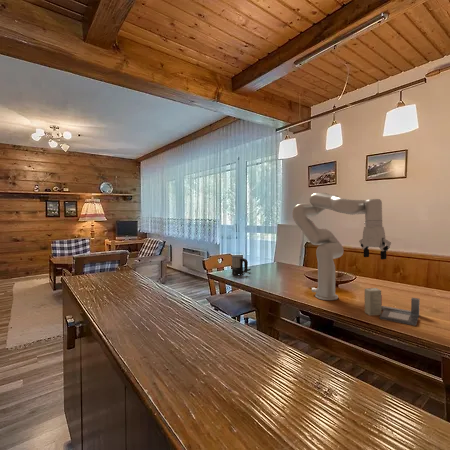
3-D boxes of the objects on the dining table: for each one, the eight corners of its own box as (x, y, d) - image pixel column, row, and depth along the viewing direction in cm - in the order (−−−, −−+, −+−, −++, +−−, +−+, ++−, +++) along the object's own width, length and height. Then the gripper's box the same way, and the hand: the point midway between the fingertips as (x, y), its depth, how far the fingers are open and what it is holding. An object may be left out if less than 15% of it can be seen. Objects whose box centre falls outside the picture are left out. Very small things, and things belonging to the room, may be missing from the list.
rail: (369, 307, 146) (369, 292, 146) (370, 306, 148) (371, 291, 148) (418, 317, 133) (419, 300, 132) (419, 315, 135) (419, 298, 135)
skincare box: (376, 312, 140) (376, 287, 140) (381, 315, 136) (381, 290, 135) (363, 312, 140) (364, 288, 139) (368, 315, 136) (369, 290, 135)
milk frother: (230, 275, 225) (230, 256, 224) (235, 271, 240) (235, 253, 239) (247, 276, 221) (247, 257, 220) (251, 272, 236) (251, 254, 235)
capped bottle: (371, 305, 145) (371, 291, 145) (373, 303, 148) (373, 289, 148) (380, 306, 142) (380, 293, 142) (381, 304, 146) (382, 291, 145)
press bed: (379, 318, 132) (379, 315, 131) (383, 312, 139) (383, 309, 139) (415, 326, 123) (415, 322, 123) (418, 318, 130) (418, 316, 130)
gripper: (354, 224, 147) (355, 256, 148) (384, 224, 131) (385, 260, 132) (364, 223, 150) (365, 255, 151) (395, 223, 134) (396, 259, 135)
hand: (374, 258), depth 141 cm, fingers open, 9 cm apart
